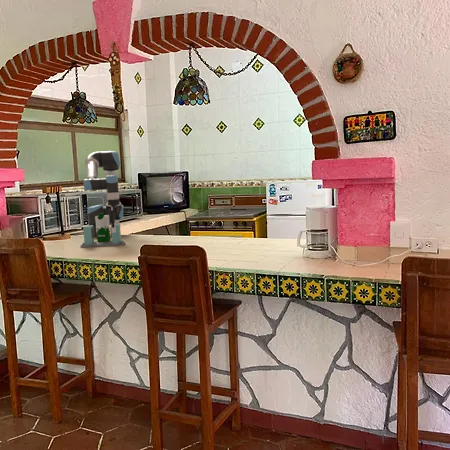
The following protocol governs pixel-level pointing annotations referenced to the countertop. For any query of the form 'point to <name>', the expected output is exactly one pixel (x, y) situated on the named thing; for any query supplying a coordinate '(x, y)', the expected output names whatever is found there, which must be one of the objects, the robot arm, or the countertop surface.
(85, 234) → the teal rectangular block
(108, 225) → the milk carton
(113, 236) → the finger free
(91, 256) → the countertop surface
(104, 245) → the rail
